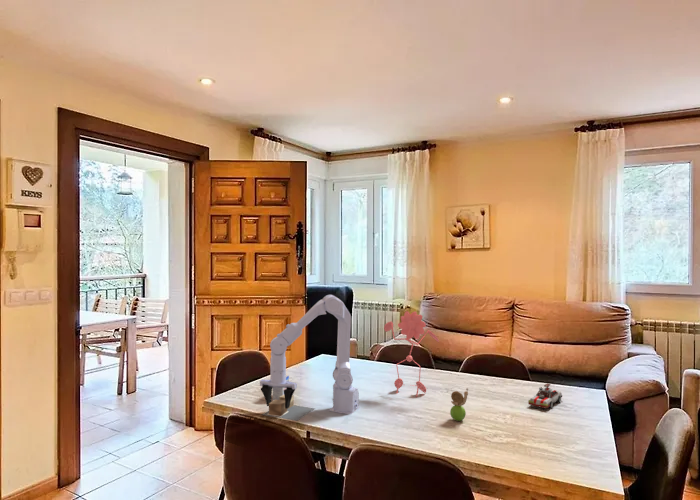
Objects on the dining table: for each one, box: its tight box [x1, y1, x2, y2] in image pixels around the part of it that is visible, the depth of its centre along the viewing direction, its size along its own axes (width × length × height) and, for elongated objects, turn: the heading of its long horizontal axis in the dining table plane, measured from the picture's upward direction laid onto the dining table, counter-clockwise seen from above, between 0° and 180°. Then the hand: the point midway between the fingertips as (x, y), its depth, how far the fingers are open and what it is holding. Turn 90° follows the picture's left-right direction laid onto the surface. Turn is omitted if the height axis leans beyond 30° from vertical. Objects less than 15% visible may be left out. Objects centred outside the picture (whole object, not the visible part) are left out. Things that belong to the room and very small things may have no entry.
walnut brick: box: [268, 399, 287, 416], centre depth 170 cm, size 5×5×4 cm
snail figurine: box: [449, 388, 469, 422], centre depth 164 cm, size 5×6×12 cm
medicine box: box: [272, 374, 290, 401], centre depth 189 cm, size 8×4×9 cm, turn 168°
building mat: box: [261, 404, 316, 422], centre depth 172 cm, size 15×14×1 cm
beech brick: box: [279, 394, 295, 409], centre depth 177 cm, size 4×4×4 cm
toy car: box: [527, 383, 563, 410], centre depth 182 cm, size 8×18×8 cm, turn 137°
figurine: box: [383, 310, 440, 398], centre depth 199 cm, size 15×26×35 cm, turn 60°
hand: (278, 406), depth 170 cm, fingers open, 7 cm apart
